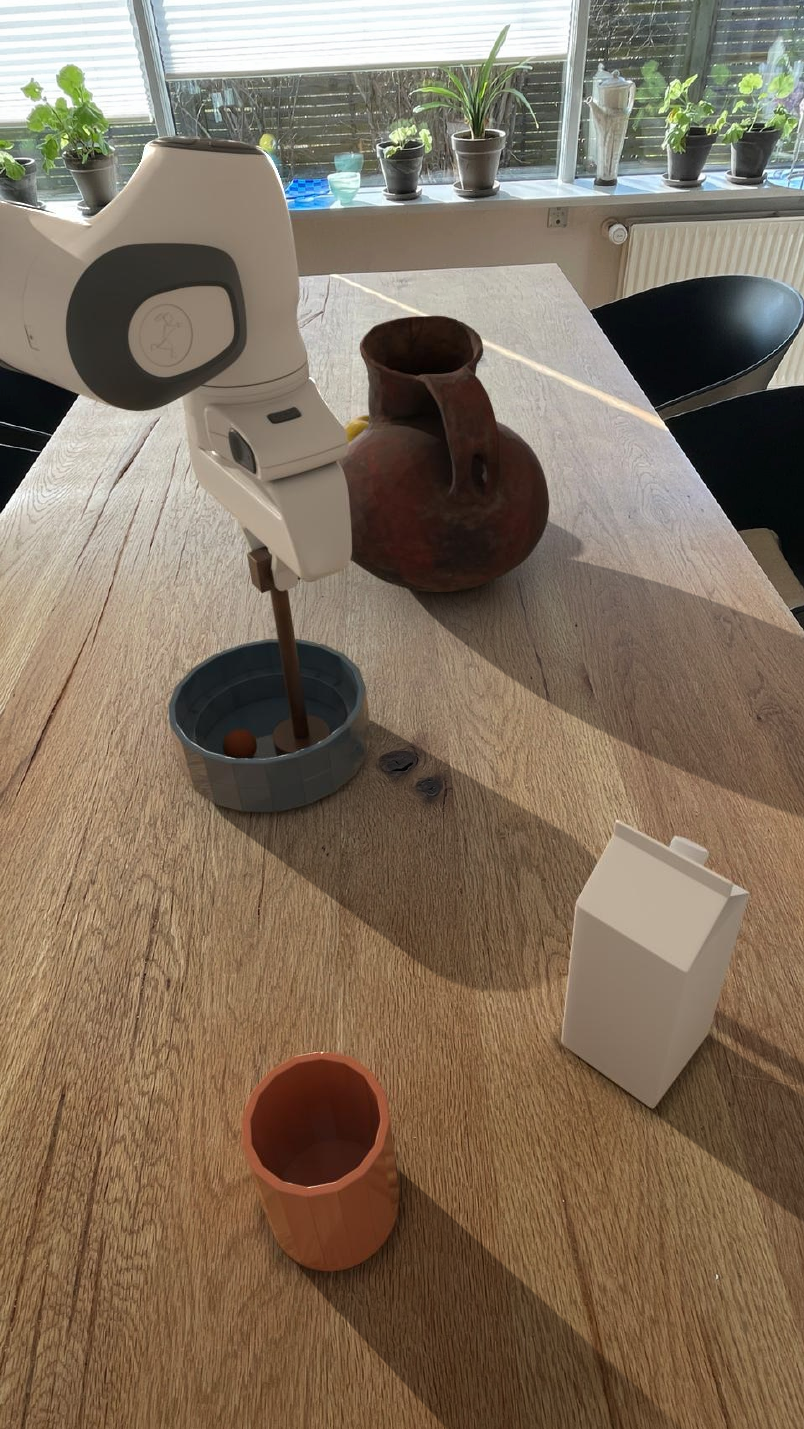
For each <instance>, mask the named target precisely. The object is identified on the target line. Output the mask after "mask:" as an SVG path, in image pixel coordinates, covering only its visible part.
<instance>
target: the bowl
mask: <svg viewBox="0 0 804 1429" xmlns="http://www.w3.org/2000/svg"><path fill="white" fill-rule="evenodd" d="M295 641H296V648H297V655H298V661H299V668H300V674H301V681H302V688H303V694H304V701H305V707H306V714H307V715H312V716H316V717H319V718H321V719H323V720H324V721H326V722H327V724H328V725H329V727H330V731H331V735H330V736H328V737H327V738H326V739H325V740H323V741H321V742H319V743H317V744H314V745H312V746H310V747H307V748H305V749H303V750H301V751H298V752H296V753H292V754H287V755H282V756H277V755H276V753H275V748H274V742H273V732H274V730H275V728H276V727H277V726H278V725H279V724H280V723H281V722H283V721H284V720H286V719H288V718H291V715H290V709H289V703H288V697H287V691H286V685H285V679H284V673H283V667H282V661H281V655H280V649H279V643H278V638H266V639H261V640H255V641H250V642H244V643H241V644H240V643H239V644H237V645H235V646H232V647H229V648H226V649H224V650H221V651H219V652H216V653H214V654H212V655H210V656H209V657H207V658H206V659H205V660H203V661H201V662H200V663H198V664H197V665H195V666H193V667H192V668H191V669H190V670H189V671H188V672H187V673H186V675H185V676H184V677H183V678H182V679H181V680H180V681H179V682H178V683H177V684H176V685H175V687H174V689H173V693H172V696H171V697H170V700H169V703H168V705H167V711H168V720H169V728H170V731H171V734H172V738H173V742H174V746H175V748H176V749H175V750H176V752H177V755H178V756H177V757H178V759H179V763H180V766H181V770H182V773H183V775H184V777H185V778H186V780H187V781H188V783H189V784H190V786H191V787H192V789H193V791H195V792H196V793H198V794H199V795H200V796H202V797H204V798H205V799H206V800H208V801H210V802H211V803H212V804H214V805H218V806H221V807H225V808H228V809H232V810H235V811H240V812H245V813H247V812H249V813H278V812H281V811H286V810H291V809H296V808H301V807H305V806H308V805H311V804H313V803H315V802H316V801H318V800H321V799H323V798H325V797H327V796H330V795H331V794H334V793H336V792H337V791H338V790H339V789H340V788H341V787H343V786H344V785H345V784H346V783H348V781H350V780H351V779H352V778H353V777H355V776H356V774H358V771H359V770H360V768H361V767H362V765H363V763H364V762H365V760H366V758H367V757H368V755H369V749H370V741H371V726H370V715H369V705H368V696H367V695H368V694H367V686H366V683H365V680H364V678H363V676H362V672H361V669H360V668H359V667H358V666H357V665H356V664H355V662H353V661H352V660H351V659H350V658H349V657H348V656H347V655H346V654H345V653H343V652H341V651H339V650H337V649H335V648H333V647H330V646H329V645H327V644H324V643H321V642H315V641H311V640H305V639H302V638H301V639H300V638H295ZM237 729H243V730H247V731H249V732H250V733H251V734H252V735H253V736H254V737H255V739H256V742H257V749H256V752H255V754H254V756H253V757H252V758H251V759H234V758H230V757H227V756H226V755H225V753H224V750H223V742H224V739H225V737H226V736H227V735H228V734H229V733H230V732H231V731H233V730H237Z"/></svg>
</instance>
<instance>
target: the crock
mask: <svg viewBox="0 0 804 1429" xmlns="http://www.w3.org/2000/svg"><path fill="white" fill-rule="evenodd" d="M390 1115H391V1114H390V1110H389V1103H388V1098H387V1093H386V1090H384V1088H383V1086H382V1085H381V1083H380V1081H379V1080H378V1079H377V1076H376V1075H375V1074H374V1073H373V1071H372V1070H371V1069H369V1067H366V1066H365V1065H363V1064H362V1063H360V1062H359V1061H357V1060H356V1059H354V1058H353V1057H351V1056H348V1055H344V1054H340V1053H334V1052H329V1051H323V1050H320V1051H317V1052H311V1053H310V1052H309V1053H304V1054H299V1055H296V1056H293V1057H291V1058H289V1059H287V1060H285V1061H284V1062H282V1063H281V1064H279V1065H277V1066H276V1067H274V1068H272V1069H270V1070H269V1071H268V1073H267V1074H266V1075H265V1076H264V1077H263V1078H262V1079H261V1081H260V1082H259V1083H258V1084H257V1085H256V1086H255V1087H254V1088H253V1090H252V1091H251V1093H250V1095H249V1098H248V1100H247V1103H246V1106H245V1108H244V1111H243V1114H242V1117H241V1144H242V1145H241V1146H242V1150H243V1154H244V1156H245V1159H246V1162H247V1165H248V1168H249V1171H250V1173H251V1177H252V1180H253V1182H254V1185H255V1188H256V1191H257V1194H258V1197H259V1200H260V1202H261V1205H262V1209H263V1210H264V1214H265V1217H266V1220H267V1223H268V1225H269V1227H270V1229H271V1232H272V1233H273V1236H274V1238H275V1240H276V1242H277V1243H278V1246H280V1248H281V1249H282V1251H283V1252H284V1253H285V1254H286V1255H287V1256H289V1258H291V1259H292V1260H293V1261H294V1262H296V1263H298V1264H299V1265H301V1266H303V1267H305V1268H307V1269H310V1270H311V1269H312V1270H315V1271H319V1272H338V1271H343V1270H344V1271H345V1270H347V1269H350V1268H353V1267H355V1266H357V1265H360V1264H362V1263H364V1262H365V1261H366V1260H368V1259H369V1258H370V1257H372V1256H373V1255H375V1253H377V1251H378V1250H380V1248H381V1247H382V1246H383V1245H384V1243H385V1242H386V1241H387V1240H388V1237H389V1236H390V1234H391V1232H392V1231H393V1228H394V1226H395V1223H396V1221H397V1217H398V1212H399V1205H400V1187H399V1180H398V1171H397V1164H396V1163H397V1162H396V1156H395V1155H396V1154H395V1147H394V1139H393V1132H392V1130H393V1129H392V1122H391V1116H390Z"/></svg>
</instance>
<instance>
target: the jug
mask: <svg viewBox="0 0 804 1429" xmlns="http://www.w3.org/2000/svg"><path fill="white" fill-rule="evenodd" d="M359 351H360V352H359V353H360V356H361V358H362V360H363V362H364V364H365V368H366V372H367V381H368V389H367V390H368V391H367V408H368V415H369V423H368V426H367V428H366V429H365V430H364V431H363V432H362V433H361V434H359V435H358V436H357V437H355V438H354V439H353V440H352V441H351V442H350V443H349V444H348V455H347V456H346V457H344V458H342V459H339V460H337V461H338V462H339V464H340V465H341V467H342V470H343V472H344V475H345V478H346V482H347V487H348V494H349V504H350V517H351V534H352V555H351V559H350V561H352V562H353V563H355V564H356V565H357V566H359V567H360V568H361V569H363V570H364V571H366V572H367V573H369V574H370V575H371V576H373V577H375V578H377V579H378V580H381V581H383V582H385V583H386V584H387V583H388V584H390V585H393V586H397V587H400V588H404V589H407V590H413V591H417V592H418V591H419V592H427V593H447V592H449V593H450V592H457V591H458V592H459V591H465V590H469V589H474V588H477V587H480V586H483V585H485V584H488V583H490V582H493V581H494V580H497V579H499V578H500V577H502V576H504V575H506V574H507V573H509V572H511V571H513V570H514V569H516V568H518V566H520V565H521V564H522V563H523V562H525V560H527V559H528V557H529V556H530V555H531V554H532V553H533V552H534V550H535V549H536V547H537V546H538V544H539V542H540V540H541V539H542V537H543V535H544V532H545V530H546V528H547V524H548V519H549V513H550V496H549V487H548V484H547V478H546V475H545V472H544V469H543V467H542V464H541V462H540V460H539V458H538V456H537V454H536V452H535V451H534V450H533V449H532V447H531V445H530V444H528V443H527V441H525V440H524V438H522V436H521V435H520V434H518V433H517V432H516V431H515V430H513V429H512V428H510V427H509V426H507V425H506V424H505V423H501V422H500V421H497V418H496V415H495V411H494V408H493V405H492V404H493V403H492V402H491V398H490V397H489V394H488V392H487V390H486V388H485V386H484V385H483V383H482V381H481V380H480V379H479V377H478V376H477V374H476V373H477V367H478V363H479V362H480V361H481V359H482V357H483V356H484V344H483V340H482V337H481V336H480V334H479V333H478V332H477V331H476V330H475V329H474V328H473V327H471V326H469V325H468V324H466V323H465V322H463V321H460V320H458V319H457V318H452V317H449V316H445V315H421V316H420V315H417V316H405V317H397V318H394V319H390V320H386V321H384V322H381V323H378V324H376V325H374V326H373V327H372V328H370V329H369V330H368V331H367V333H365V335H363V337H362V339H361V340H360V343H359Z"/></svg>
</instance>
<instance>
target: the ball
mask: <svg viewBox="0 0 804 1429" xmlns="http://www.w3.org/2000/svg"><path fill="white" fill-rule="evenodd" d="M256 749H257V742H256V739H255V737H254V736H253V735H252V734H251V733H250V732H249V731H247V730H243V729H237V730H233V731H231V732H230V733H229V734H228V735H227V736H226V737H225V739H224V742H223V750H224V753H225V755H226V756H227V757H230V758H234V759H251V758H252V757H253V756H254V754H255V752H256Z"/></svg>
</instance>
